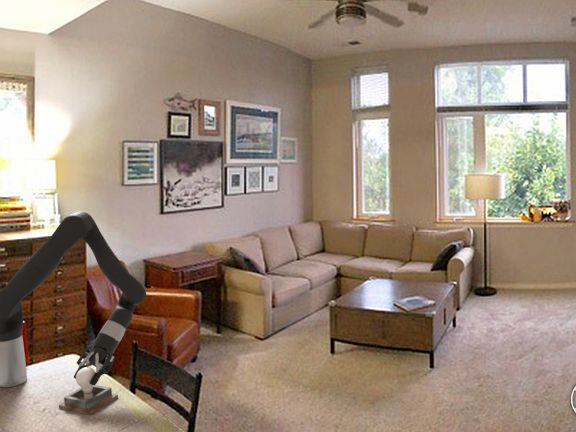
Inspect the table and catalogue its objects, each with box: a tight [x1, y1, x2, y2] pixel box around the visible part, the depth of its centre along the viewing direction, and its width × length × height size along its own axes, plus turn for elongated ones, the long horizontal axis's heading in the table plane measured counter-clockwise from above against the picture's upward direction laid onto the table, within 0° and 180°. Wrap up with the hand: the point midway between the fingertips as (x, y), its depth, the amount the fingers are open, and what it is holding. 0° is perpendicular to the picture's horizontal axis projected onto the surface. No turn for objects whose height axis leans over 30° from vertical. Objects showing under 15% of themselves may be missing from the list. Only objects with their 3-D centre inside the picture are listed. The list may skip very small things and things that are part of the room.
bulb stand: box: [58, 384, 119, 416], centre depth 169 cm, size 14×12×4 cm
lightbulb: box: [75, 366, 96, 400], centre depth 169 cm, size 6×6×11 cm
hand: (83, 381), depth 168 cm, fingers open, 8 cm apart
